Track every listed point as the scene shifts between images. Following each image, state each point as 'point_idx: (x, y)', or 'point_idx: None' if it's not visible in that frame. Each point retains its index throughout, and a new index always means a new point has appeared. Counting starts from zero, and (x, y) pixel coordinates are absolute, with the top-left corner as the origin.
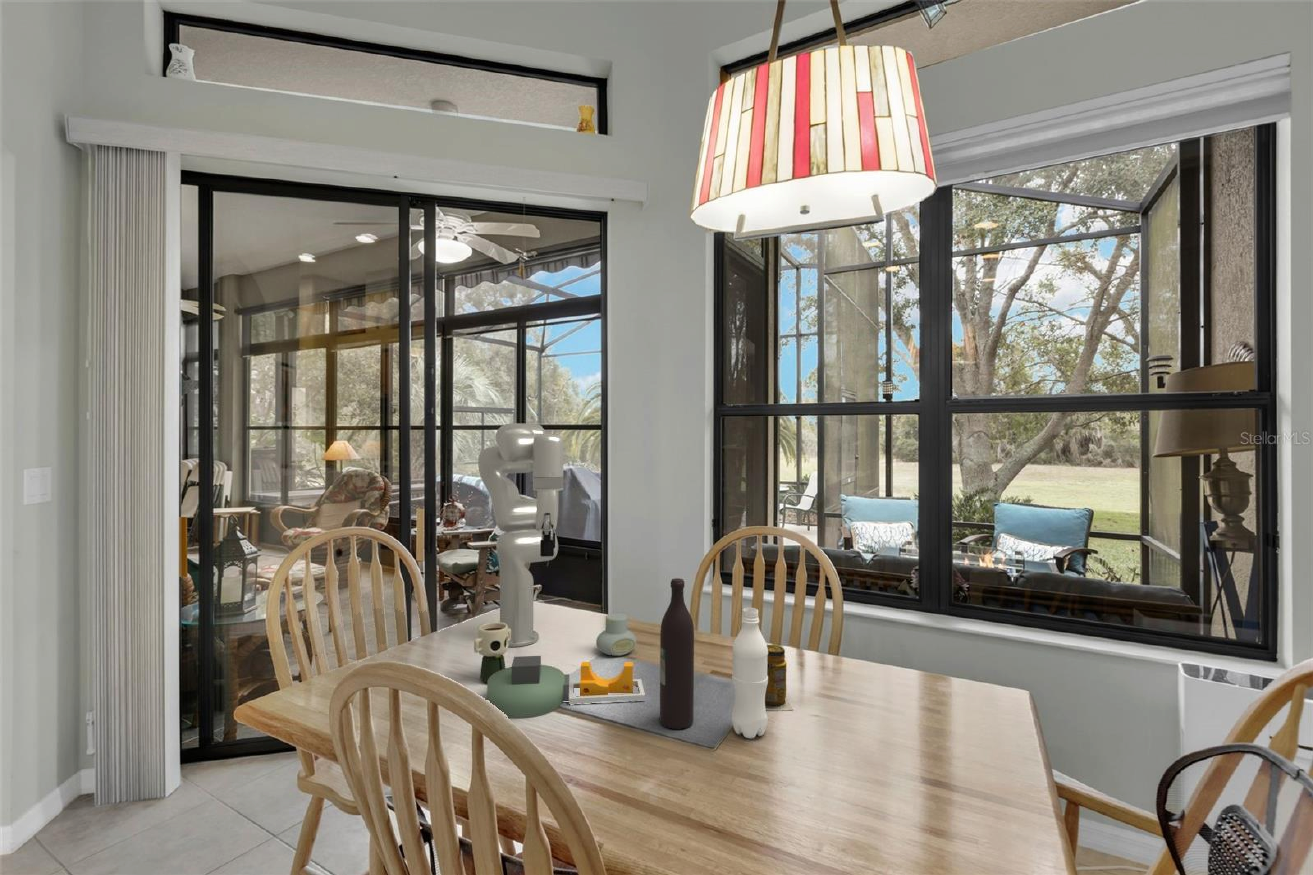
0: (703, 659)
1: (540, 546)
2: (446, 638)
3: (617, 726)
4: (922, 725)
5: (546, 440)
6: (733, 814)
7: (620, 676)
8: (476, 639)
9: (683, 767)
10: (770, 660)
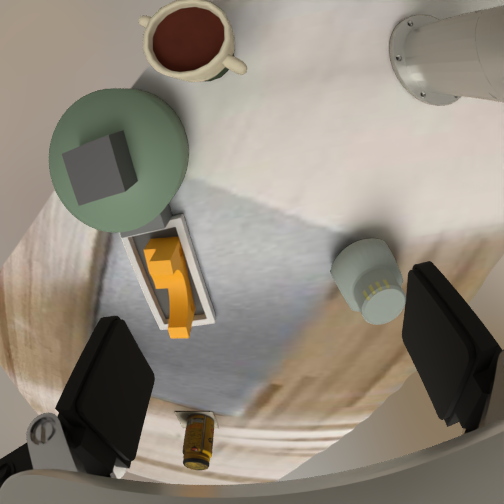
0: (320, 376)
1: (75, 366)
2: None
3: (90, 297)
4: (182, 467)
5: None
6: (25, 367)
7: (172, 310)
8: (140, 20)
9: (52, 349)
10: (183, 456)
